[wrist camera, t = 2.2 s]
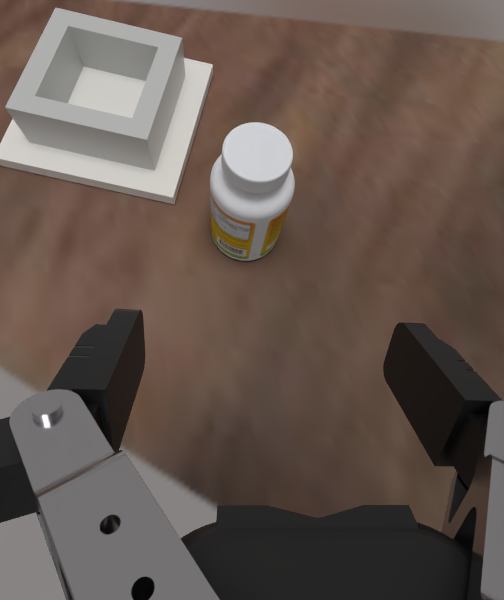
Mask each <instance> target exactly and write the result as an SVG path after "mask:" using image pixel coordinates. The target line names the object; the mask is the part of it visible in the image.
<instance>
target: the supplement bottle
mask: <svg viewBox="0 0 504 600" xmlns="http://www.w3.org/2000/svg"><path fill="white" fill-rule="evenodd" d="M292 159H293V151H292V147H291V144H290V142H289V140H288V138H287V137H286V136H285V135H284V134H283V133H282V132H281V131H280V130H278V129H277V128H275V127H273V126H271V125H268V124H264V123H256V122H254V123H246V124H243V125H240V126H238V127H236V128H235V129H233V130H232V131H231V132H230V133H229V134H228V135H227V137H226V138H225V140H224V143H223V148H222V154H221V155H220V156H219V158H218V159H217V160H216V162H215V164H214V165H213V168H212V171H211V177H210V196H211V230H212V236H213V240H214V242H215V244H216V245H217V247H218V248H219V249H220V250H221V251H222V252H223V253H224V254H226V255H227V256H229V257H231V258H233V259H236V260H241V261H251V260H256V259H258V258H261V257H263V256H264V255H266V254H267V253H268V252H269V251H270V250H271V249H272V248H273V247H274V245H275V243H276V241H277V239H278V236H279V233H280V230H281V227H282V225H283V222H284V219H285V216H286V214H287V211H288V208H289V205H290V203H291V200H292V197H293V193H294V187H295V182H294V175H293V172H292V169H291V164H292Z"/></svg>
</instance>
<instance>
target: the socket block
mask: <svg viewBox="0 0 504 600" xmlns="http://www.w3.org/2000/svg"><path fill="white" fill-rule="evenodd" d="M212 76H213V65H212V64H208V63H203V62H199V61H195V60H191V59H187V58H184V54H183V42H182V38H180V37H176V36H172V35H168V34H164V33H160V32H155V31H151V30H147V29H143V28H139V27H135V26H130V25H126V24H122V23H118V22H114V21H110V20H105V19H101V18H97V17H93V16H89V15H84V14H80V13H76V12H72V11H68V10H64V9H59V8H55V10H54V12H53V14H52V16H51V18H50V20H49V22H48V24H47V26H46V28H45V30H44V32H43V34H42V36H41V38H40V40H39V42H38V44H37V46H36V48H35V50H34V52H33V54H32V56H31V57H30V59H29V61H28V63H27V65H26V67H25V69H24V71H23V73H22V75H21V77H20V79H19V81H18V83H17V85H16V87H15V89H14V91H13V93H12V95H11V97H10V99H9V101H8V103H7V105H6V107H5V108H6V109H7V111H8V112H9V114H10V115H11V116H12V118H13V119H12V121H11V123H10V125H9V127H8V129H7V131H6V133H5V135H4V137H3V139H2V141H1V144H0V165H1V166H4V167H9V168H13V169H18V170H22V171H27V172H31V173H36V174H40V175H45V176H49V177H54V178H58V179H63V180H67V181H71V182H76V183H80V184H85V185H89V186H94V187H98V188H103V189H107V190H112V191H116V192H121V193H125V194H130V195H134V196H139V197H143V198H148V199H152V200H157V201H161V202H166V203H170V204H175V201H176V197H177V194H178V191H179V187H180V184H181V181H182V177H183V174H184V170H185V167H186V164H187V160H188V157H189V154H190V150H191V147H192V143H193V140H194V137H195V133H196V130H197V126H198V123H199V120H200V116H201V113H202V110H203V106H204V103H205V99H206V96H207V93H208V89H209V86H210V83H211V79H212Z"/></svg>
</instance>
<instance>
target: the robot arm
mask: <svg viewBox="0 0 504 600" xmlns="http://www.w3.org/2000/svg"><path fill="white" fill-rule="evenodd" d="M144 364H145V342H144V324H143V313H142V311H141V310H130V309H115V310H114V312H113V314H112V316H111V317H110V319H109V321H108V323H107V325H98V324H96V325H94V326H93V327H92V328H90V329H89V330H87V331H86V332H84V333H83V334H82V335H81V337H80V339H79V340H78V342H77V343H76V345H75V348H73V350H72V351H71V353H70V354H69V357H68V358H67V359H66V361H65V362H64V364H63V366H62V367H61V369H60V370H59V372H58V373H57V375H56V377H55V378H54V380H53V381H52V383H51V385H50V386H49V388H48V389H47V391H44V392H41V393H38V394H35V395H33V396H31V397H29V398H27V399H26V400H25V401H23V402H21V403H20V404H19V405H18V406H17V407H16V408H15V409H14V411H13V412H12V414H11V416H10V417H8V418H4V419H0V523H1V522H4V521H8V520H11V519H14V518H18V517H21V516H24V515H28V514H31V513H34V512H36V514H37V517H38V520H39V522H40V526H41V528H42V531H43V534H44V537H45V540H46V543H47V546H48V548H49V551H50V554H51V557H52V560H53V563H54V566H55V568H56V571H57V574H58V577H59V580H60V582H61V586H62V589H63V592H64V595H65V598H66V600H504V401H502V400H501V399H500V397H499V396H498V395H497V394H496V393H495V392H494V391H493V390H492V389H491V388H490V387H489V386H488V385H487V383H486V382H485V381H484V380H483V379H482V378H481V377H480V376H479V375H478V374H477V373H476V372H473V368H472V367H471V366H470V365H469V364H468V363H467V362H465V360H464V359H463V358H462V357H461V355H460V354H459V353H458V352H457V351H456V350H455V349H454V348H452V347H451V346H449V345H447V344H446V343H444V342H443V341H441V340H440V339H438V338H437V337H436V336H435V335H434V334H433V332H432V331H431V330H430V329H429V328H428V327H427V326H426V325H425V324H422V323H398V324H397V325H396V327H395V329H394V332H393V335H392V338H391V342H390V345H389V348H388V351H387V354H386V357H385V361H384V367H383V370H384V377H385V380H386V382H387V384H388V385H389V387H390V389H391V391H392V392H393V394H394V396H395V398H396V399H397V401H398V403H399V405H400V406H401V408H402V410H403V412H404V413H405V415H406V417H407V419H408V420H409V422H410V424H411V426H412V427H413V429H414V431H415V433H416V434H417V436H418V438H419V440H420V441H421V443H422V445H423V446H424V448H425V450H426V452H427V453H428V455H429V457H430V459H431V460H432V462H433V464H434V466H454V468H455V469H456V473H455V475H454V477H453V479H452V483H451V488H450V493H449V498H448V503H447V508H446V513H445V518H444V523H443V528H442V532H439V531H437V530H435V529H433V528H431V527H428V526H425V525H423V524H420V523H417V522H416V520H415V518H414V516H413V514H412V511H411V509H410V507H409V505H363V506H360V507H356V508H353V509H349V510H346V511H343V512H339V513H336V514H332V515H329V516H326V517H322V518H314V517H310V516H306V515H302V514H298V513H294V512H290V511H286V510H282V509H278V508H274V507H270V506H218V507H217V521H216V522H215V523H212V524H209V525H205V526H203V527H201V528H199V529H196V530H194V531H192V532H190V533H189V534H187V535H185V536H184V537H183V538H181V539H180V537H179V536H178V534H177V533H176V531H175V529H174V528H173V526H172V525H171V523H170V522H169V520H168V518H167V517H166V515H165V514H164V512H163V511H162V509H161V508H160V506H159V504H158V503H157V502H156V500H155V498H154V497H153V495H152V494H151V492H150V490H149V489H148V487H147V486H146V484H145V482H144V481H143V479H142V478H141V476H140V475H139V473H138V472H137V470H136V468H135V467H134V465H133V464H132V462H131V461H130V459H129V458H128V456H127V455H126V454H125V452H123V451H122V450H119V448H120V445H121V441H122V438H123V435H124V432H125V429H126V425H127V422H128V419H129V416H130V413H131V409H132V406H133V403H134V400H135V397H136V393H137V390H138V387H139V384H140V381H141V377H142V374H143V370H144Z"/></svg>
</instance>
